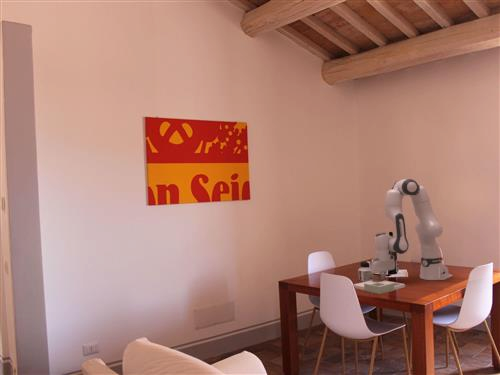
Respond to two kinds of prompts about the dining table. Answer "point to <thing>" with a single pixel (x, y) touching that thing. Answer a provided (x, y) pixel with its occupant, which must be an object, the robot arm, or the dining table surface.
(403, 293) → the dining table surface
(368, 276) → the container
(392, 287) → the trap board
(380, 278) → the block
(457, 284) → the dining table surface
